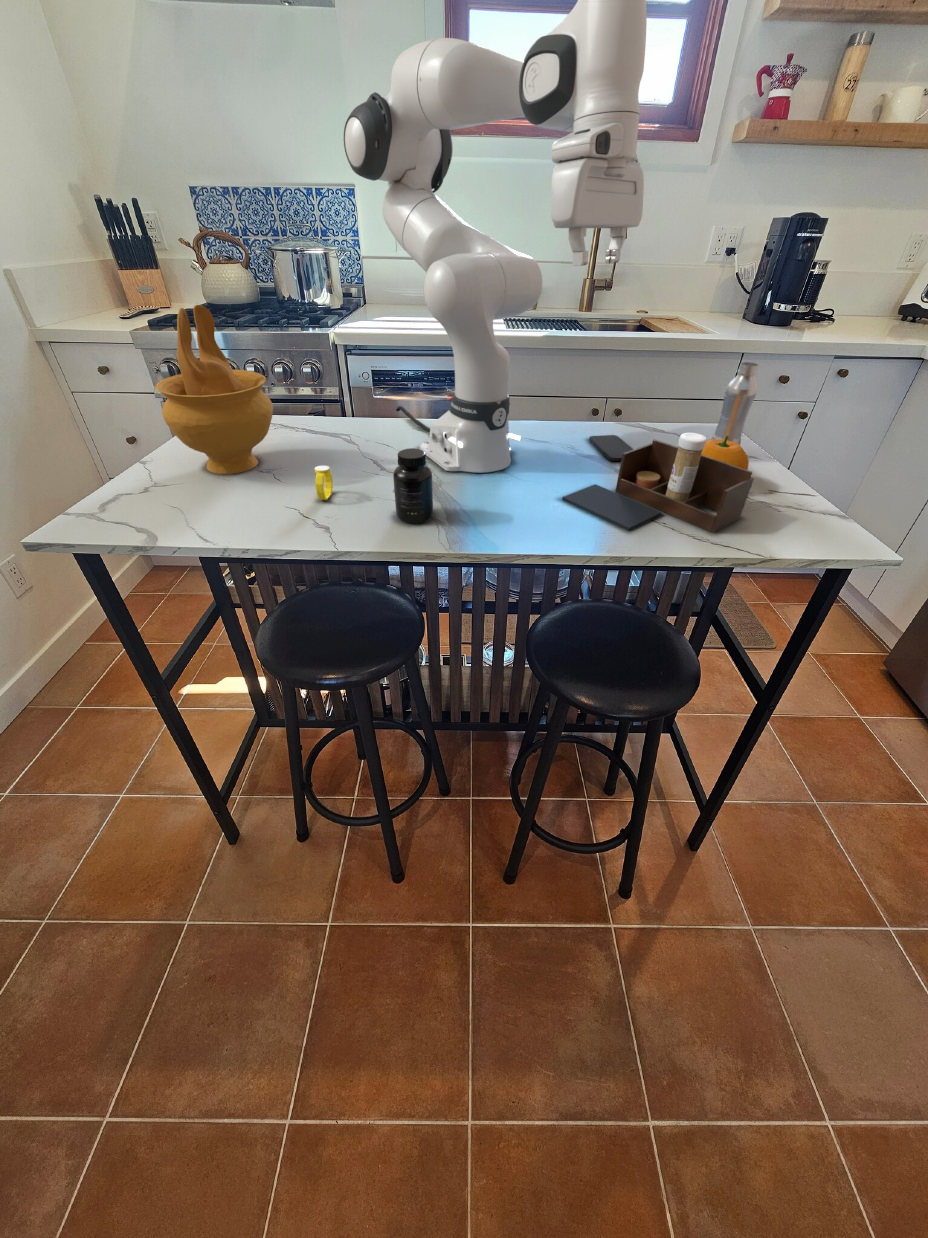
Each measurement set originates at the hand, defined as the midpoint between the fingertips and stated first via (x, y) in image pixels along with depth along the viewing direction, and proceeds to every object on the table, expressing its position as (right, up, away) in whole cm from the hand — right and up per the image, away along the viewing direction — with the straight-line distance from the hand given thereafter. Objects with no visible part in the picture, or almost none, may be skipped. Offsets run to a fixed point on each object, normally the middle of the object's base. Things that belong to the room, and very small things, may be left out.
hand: (596, 264), depth 84 cm
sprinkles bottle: (+21, -32, +23) cm, 45 cm away
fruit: (+32, -26, +31) cm, 52 cm away
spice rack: (+21, -32, +23) cm, 45 cm away
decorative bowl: (-71, -21, +35) cm, 82 cm away
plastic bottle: (+40, -17, +43) cm, 61 cm away
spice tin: (+16, -29, +27) cm, 43 cm away
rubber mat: (+8, -33, +21) cm, 40 cm away
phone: (+15, -15, +45) cm, 50 cm away
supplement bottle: (-30, -36, +17) cm, 49 cm away
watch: (-47, -31, +23) cm, 61 cm away
